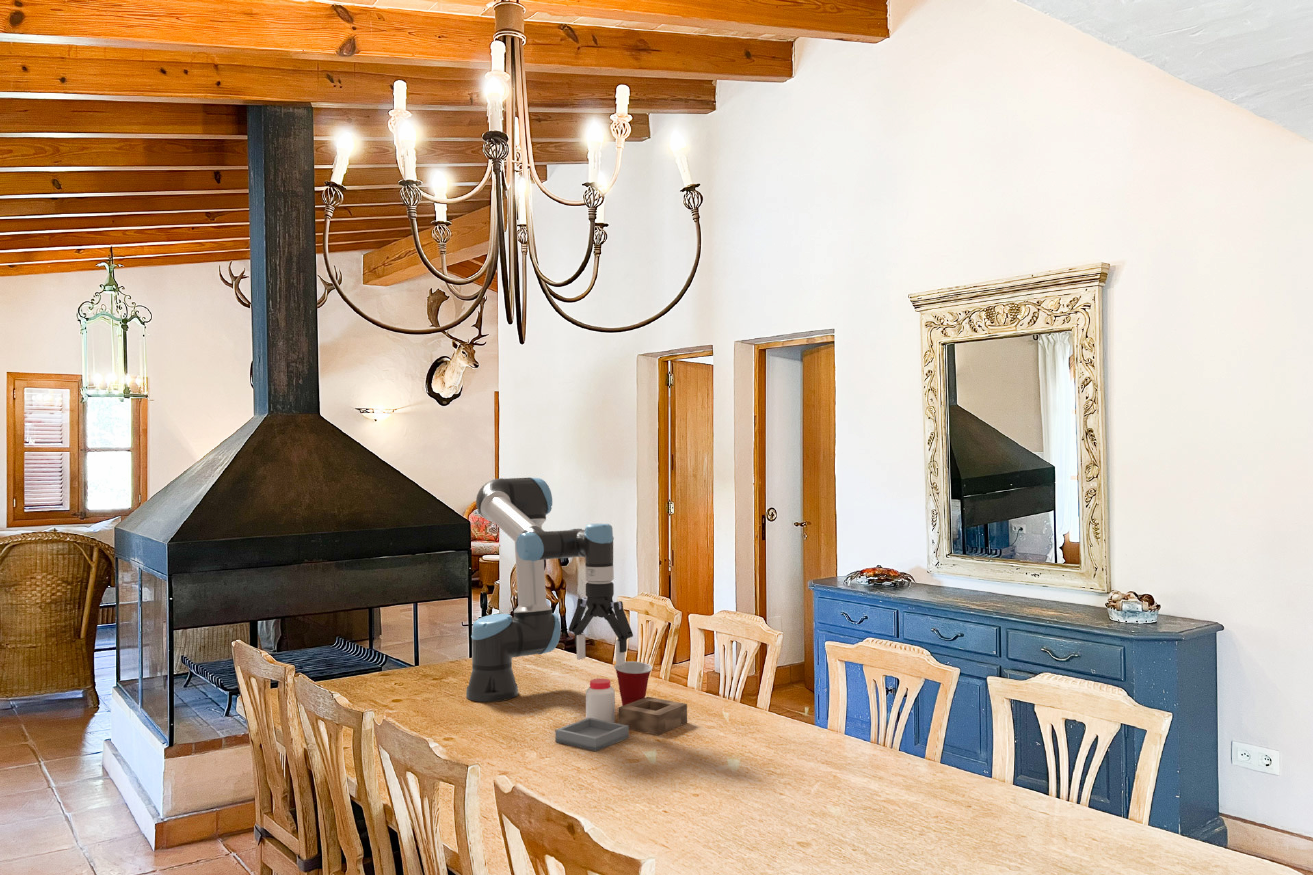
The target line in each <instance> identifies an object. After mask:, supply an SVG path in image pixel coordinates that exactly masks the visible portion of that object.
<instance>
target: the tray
mask: <svg viewBox="0 0 1313 875" xmlns="http://www.w3.org/2000/svg"><path fill="white" fill-rule="evenodd" d="M629 732H630V729H629V726H627V725H623V724H618V722H617V723H616V722H615V723H613V722H608V721H603V720H599V719H594V718H586V717H585V718H584V719H581V720H579V721H576V722H573V723H571V724H567V725H565V726H562V727H559V728H556V729H555V733H554V734H555V735H554V736H555V738H554V739H555V743H558V744H563V745H567V746H571V747H574V748H575V747H576V748H580V749H583V750H588V751H593V752H598V751H600V750H603V749H605V748H608V747H609V746H613V745H615V744H617V743H619V742H622V741H625V740H626V739H629V737H630V736H629Z"/></svg>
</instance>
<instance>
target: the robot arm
mask: <svg viewBox="0 0 1313 875" xmlns="http://www.w3.org/2000/svg"><path fill="white" fill-rule="evenodd" d="M475 498H476V499H475V505H476V509H477V511H478V513H479V514H480V515H481V516H482V517H483V518H484V520H487V521H488V522H492V523H494V524H495V525H496V526H497V527H498V528H500V529H501V531H502V532H504V533H505V534H506V535H507V536H509V537H510V538H511V539H512V540H513V541H514V552H515V553H514V554H515V565H516V566H515V569H516V570H515V571H516V572H515V573H516V586H517V604H518V606H517V607H516V608H515V609H514V611H513V617H512V615H511V614H509V613H498V614H497V613H495V614H489V615H485V616H482V617H479V618H477V620H475V621H474V622H473V624H472V630H471V636H470V637H471V659H472V660H471V661H472V662H471V667H472V668H471V672H470V673H471V674H470V677H469V681H468V685H467V687H466V691H465V693H466V694H465V695H466V696H465V697H466V699H467V700H470V701H475V702H482V703H483V702H484V703H485V702H486V703H488V702H490V703H491V702H502V701H506V700H510V699H513V698H516V697H517V696H518V695H519V688H518V684H517V682H516V677H515V674H514V672H513V665H512V664H513V663H512V662H513V661H512V660H513V658H519V657H526V656H527V657H528V656H534V655H542V654H546V653H550V652H553V651H554V650H555V649H556V647H557V645H558V644H559V641H560V638H561V622H560V621H559V620H560V619H559V617H558V615H557V614H556V613H553V607H551V606H550V605H548V603H547V595H546V594H547V590H546V577H545V576H546V575H545V560H554V559H555V560H556V559H569V558H584V562H585V563H584V564H585V565H584V566H585V581H586V583H585V596H586V597H582V598H577V602H576V603H577V604H576V608H575V610H574V613H573V615H572V616H573V617H572V619H571V620H570V621H571V622H570V623H569V627H568V632H569V633H570V632H572V633H573V635H574V645H575V647H576V660H583V659H586V633H584V631H585V629H586V628H587V627H588V626H589V624H590V622H591V620H592V619H593V618H596V617H598V618H603V619H604V620H605V621H607V623H608V624H609V627H610V628H611V629H612V631H613V632H614V634H615V636H616V637H617V640H615V658H616V659H615V662H616V663H615V664H616V665H618V666H619V665H622V664H625V662H626V659H625V658H626V657H625V656H626V655H625V654H626V653H627V651H628V650H627V649H628V648H627V647H628V646H627V645H628V644H627V641H628V639H630V638H633V637H634V633H633V630H632V629H631V626H630V623H629V620H628V618H627V616H626V613H625V610H624V602H623V601H621V600H620V601H614V600H613V597H614V596H615V595H614V594H615V593H614V592H615V590H614V589H615V588H614V582H612V581H614V579H615V578H614V577H615V576H614V534H613V533H614V532H613V526H612V525H611V524H610V523H589V524H588V523H587V524H586V525H585V527H584V529H582V528H571V529H567V530H566V529H565V530H552V531H551V530H549V531H547V530H546V531H545V530H543V528H542V527H543V524H544V523H545V522H546V521H547V515H549V514H550V513H551V511H552V508H553V496H552V490H551V489H550V487H549V485H548V483H547V482H546V481H545V480H544V479H542V478H540V477H515V478H514V477H513V478H511V477H510V478H494V479H492V480H489V481H488V482H486V483H485V484H483V485H482V486H481V488H480V489H479V491H478V493H477V494H476V497H475ZM586 608H587V610H586Z"/></svg>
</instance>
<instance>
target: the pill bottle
mask: <svg viewBox="0 0 1313 875" xmlns="http://www.w3.org/2000/svg"><path fill="white" fill-rule="evenodd" d="M615 692H616V690H615V689H614V687H612V686H611V679H608V678H594V679H593V678H592V679H591V680H589V687H588V688H587V689H586V690H585V719H586V718H594V719H599V720H603V721H608V722H613V723H616V698H615V695H616V694H615Z"/></svg>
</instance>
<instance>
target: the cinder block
mask: <svg viewBox="0 0 1313 875" xmlns="http://www.w3.org/2000/svg"><path fill="white" fill-rule="evenodd" d="M617 709H618V712H617V713H618V715H617V716H618V721H617V723H618V724H623V725H627V726H629V730H633V731H638V732H642V733H647V734H651V735H657V736H660V735H663V734H665V733H667V732H669V731H671V730H673V729H677V728H678V727H682V726H683V725H685V724H687V723H688V704H687V703H684V702H680V701H679V702H678V701H674V700H673V701H672V700H667V699H662V698H657V697H652V696H645V698H643V699H640V700H637V701H635V702H632V703H629V704H626V705H624V706H622V705H621V706H619V707H617Z"/></svg>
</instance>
